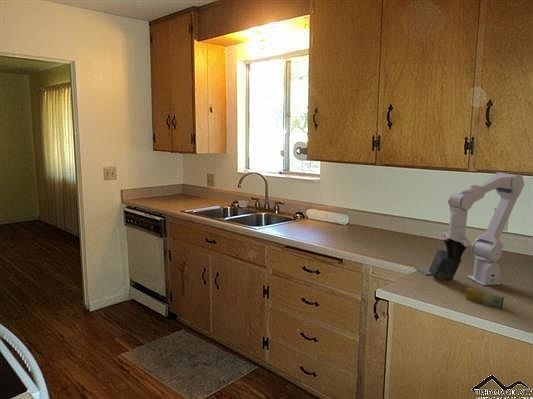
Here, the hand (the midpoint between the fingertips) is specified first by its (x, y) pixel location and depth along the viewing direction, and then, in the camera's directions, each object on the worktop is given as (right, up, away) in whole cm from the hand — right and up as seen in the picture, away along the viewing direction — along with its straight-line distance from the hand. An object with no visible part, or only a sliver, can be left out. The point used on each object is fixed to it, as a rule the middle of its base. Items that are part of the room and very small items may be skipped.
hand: (453, 259), depth 160 cm
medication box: (+5, -14, -13) cm, 20 cm away
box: (-1, -8, +9) cm, 12 cm away
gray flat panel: (-3, -8, +17) cm, 19 cm away
